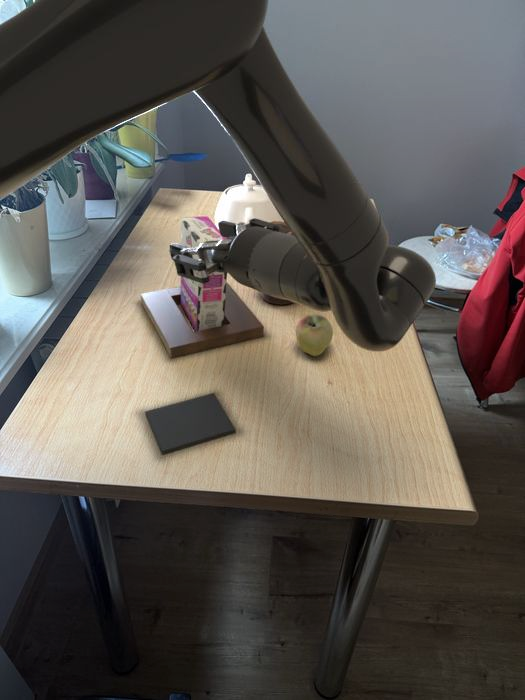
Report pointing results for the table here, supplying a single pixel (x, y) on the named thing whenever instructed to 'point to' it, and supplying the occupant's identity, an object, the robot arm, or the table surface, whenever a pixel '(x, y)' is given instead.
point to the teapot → (245, 204)
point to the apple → (314, 334)
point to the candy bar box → (203, 298)
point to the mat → (189, 423)
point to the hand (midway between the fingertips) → (197, 239)
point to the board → (185, 341)
